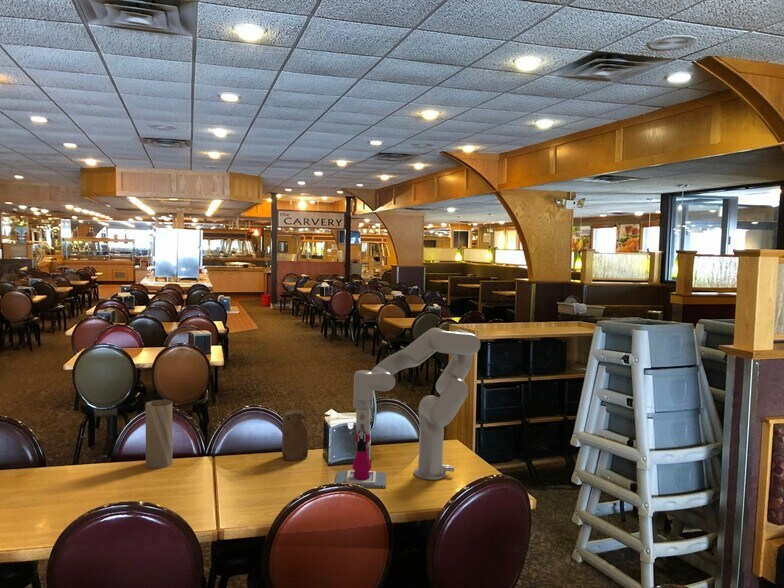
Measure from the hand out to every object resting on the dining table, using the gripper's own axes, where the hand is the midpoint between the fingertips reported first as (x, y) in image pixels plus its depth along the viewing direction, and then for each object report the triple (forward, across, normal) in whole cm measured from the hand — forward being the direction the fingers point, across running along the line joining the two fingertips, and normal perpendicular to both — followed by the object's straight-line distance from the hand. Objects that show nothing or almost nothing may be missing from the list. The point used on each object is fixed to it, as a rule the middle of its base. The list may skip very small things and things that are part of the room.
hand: (362, 447), depth 237 cm
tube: (+14, +11, +82) cm, 84 cm away
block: (+14, +22, +29) cm, 39 cm away
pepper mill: (+12, +1, 0) cm, 12 cm away
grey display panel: (+13, 0, 0) cm, 13 cm away
